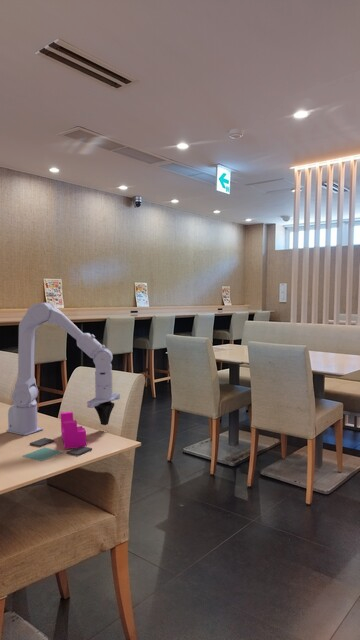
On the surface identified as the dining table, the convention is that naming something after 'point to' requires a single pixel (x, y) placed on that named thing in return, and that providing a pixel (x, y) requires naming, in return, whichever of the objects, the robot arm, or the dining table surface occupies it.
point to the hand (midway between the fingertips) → (104, 424)
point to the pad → (42, 454)
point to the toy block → (72, 431)
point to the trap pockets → (74, 451)
